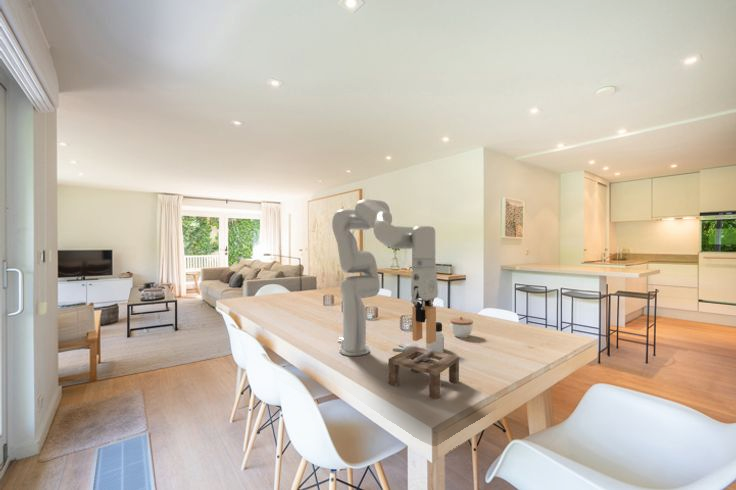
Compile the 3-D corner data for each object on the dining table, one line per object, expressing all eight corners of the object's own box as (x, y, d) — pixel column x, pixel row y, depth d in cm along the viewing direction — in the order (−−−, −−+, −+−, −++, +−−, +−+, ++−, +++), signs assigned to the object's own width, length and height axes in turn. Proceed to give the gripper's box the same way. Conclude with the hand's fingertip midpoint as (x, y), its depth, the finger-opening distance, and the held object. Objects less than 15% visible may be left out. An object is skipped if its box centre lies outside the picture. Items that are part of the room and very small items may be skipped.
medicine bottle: (443, 353, 133) (443, 324, 133) (426, 352, 134) (426, 323, 134) (443, 348, 140) (443, 320, 140) (426, 347, 141) (426, 319, 141)
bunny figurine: (427, 354, 121) (391, 343, 128) (426, 367, 121) (390, 356, 128) (435, 347, 129) (401, 337, 136) (434, 359, 129) (399, 349, 136)
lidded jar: (475, 339, 153) (475, 319, 153) (453, 339, 154) (453, 319, 154) (468, 333, 164) (468, 314, 164) (447, 332, 164) (447, 314, 164)
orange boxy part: (412, 340, 106) (412, 306, 106) (418, 337, 109) (418, 304, 109) (430, 343, 102) (429, 308, 102) (436, 341, 105) (435, 307, 105)
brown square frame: (388, 383, 104) (388, 355, 104) (414, 368, 117) (414, 343, 117) (436, 399, 94) (436, 367, 94) (458, 380, 106) (458, 353, 106)
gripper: (421, 265, 96) (421, 327, 96) (445, 263, 110) (446, 317, 109) (400, 265, 101) (400, 323, 101) (426, 262, 114) (426, 314, 114)
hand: (424, 319), depth 105 cm, fingers closed on orange boxy part, 4 cm apart
